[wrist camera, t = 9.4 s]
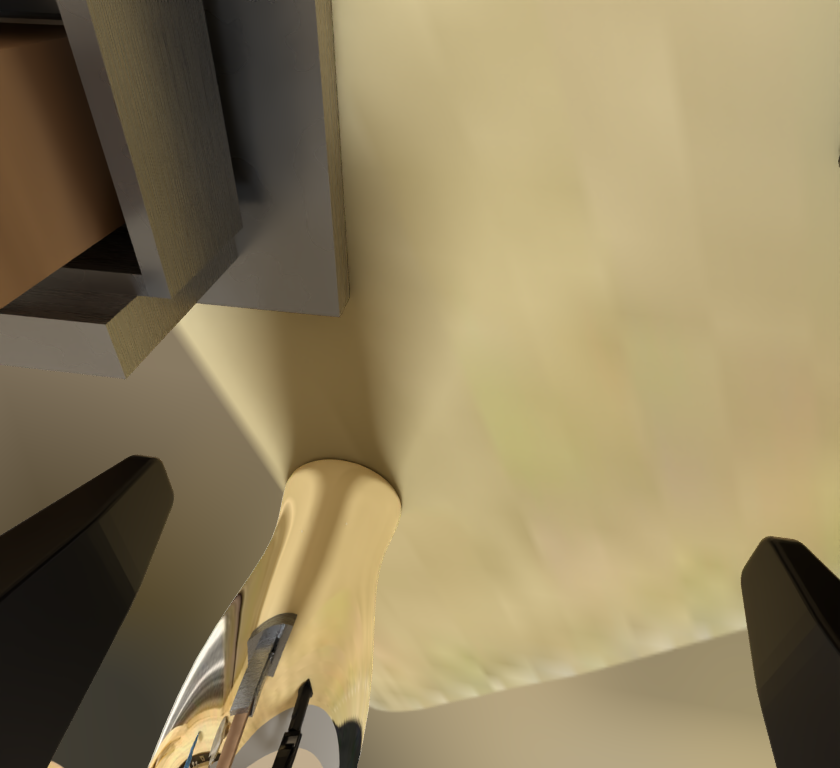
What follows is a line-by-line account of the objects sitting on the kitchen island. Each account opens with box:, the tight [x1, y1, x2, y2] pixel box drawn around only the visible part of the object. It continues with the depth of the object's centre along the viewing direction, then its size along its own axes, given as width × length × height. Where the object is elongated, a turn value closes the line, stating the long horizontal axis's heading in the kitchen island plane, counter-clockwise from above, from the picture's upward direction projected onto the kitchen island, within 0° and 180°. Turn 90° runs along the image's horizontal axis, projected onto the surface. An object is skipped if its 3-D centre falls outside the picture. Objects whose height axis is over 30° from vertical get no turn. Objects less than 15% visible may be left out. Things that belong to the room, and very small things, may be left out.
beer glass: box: [148, 459, 401, 768], centre depth 23 cm, size 7×7×15 cm
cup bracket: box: [0, 0, 350, 379], centre depth 15 cm, size 12×12×8 cm
